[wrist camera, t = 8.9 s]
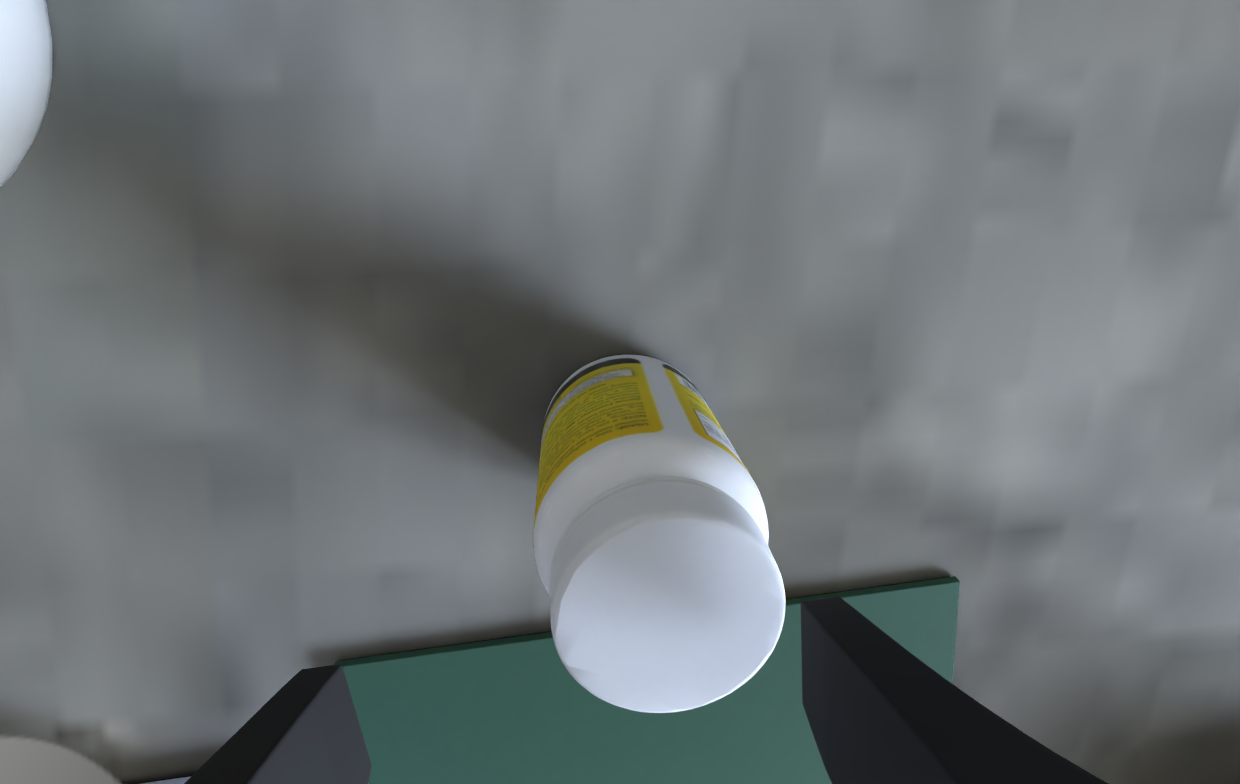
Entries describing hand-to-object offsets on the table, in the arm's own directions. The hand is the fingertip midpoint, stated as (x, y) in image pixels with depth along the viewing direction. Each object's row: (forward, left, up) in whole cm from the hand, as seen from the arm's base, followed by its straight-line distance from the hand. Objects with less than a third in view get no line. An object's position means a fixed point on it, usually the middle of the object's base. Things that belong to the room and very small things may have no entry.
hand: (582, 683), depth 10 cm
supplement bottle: (+2, 0, -9) cm, 9 cm away
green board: (+2, -12, -9) cm, 15 cm away
